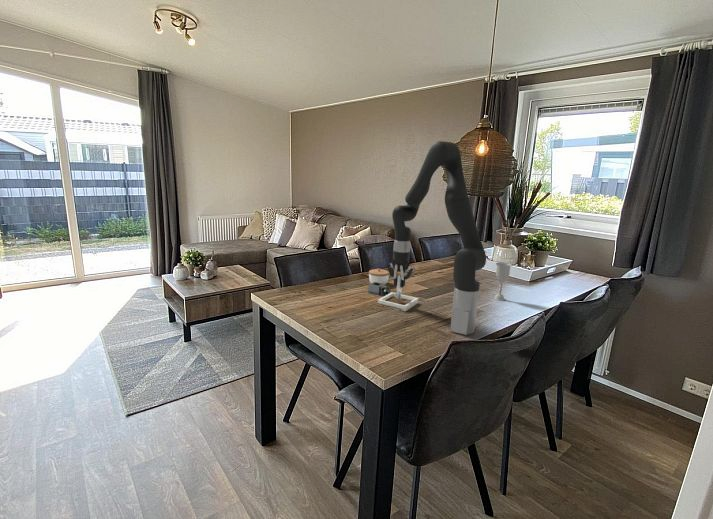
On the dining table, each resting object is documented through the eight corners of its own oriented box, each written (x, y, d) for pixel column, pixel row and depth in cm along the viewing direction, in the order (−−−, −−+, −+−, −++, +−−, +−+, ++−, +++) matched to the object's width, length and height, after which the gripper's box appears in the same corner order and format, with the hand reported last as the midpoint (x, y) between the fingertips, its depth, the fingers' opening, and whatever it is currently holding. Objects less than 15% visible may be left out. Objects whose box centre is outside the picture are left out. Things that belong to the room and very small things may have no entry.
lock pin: (400, 299, 174) (401, 272, 171) (393, 298, 175) (395, 271, 172) (403, 297, 176) (404, 270, 173) (396, 296, 178) (398, 269, 175)
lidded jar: (366, 287, 200) (367, 270, 198) (370, 281, 210) (371, 265, 208) (386, 289, 198) (387, 272, 196) (389, 283, 208) (390, 267, 206)
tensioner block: (386, 299, 182) (386, 289, 181) (364, 294, 188) (365, 284, 187) (394, 294, 190) (395, 285, 189) (373, 289, 196) (374, 280, 195)
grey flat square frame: (405, 311, 167) (405, 306, 167) (377, 305, 174) (377, 299, 174) (417, 303, 179) (418, 298, 178) (391, 297, 186) (391, 292, 185)
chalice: (506, 297, 191) (510, 263, 187) (507, 302, 185) (512, 266, 181) (491, 296, 193) (495, 261, 189) (491, 300, 187) (496, 265, 183)
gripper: (384, 249, 171) (382, 285, 175) (412, 253, 164) (409, 291, 168) (391, 246, 177) (389, 282, 181) (419, 250, 170) (416, 287, 174)
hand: (399, 286), depth 174 cm, fingers closed on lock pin, 2 cm apart
